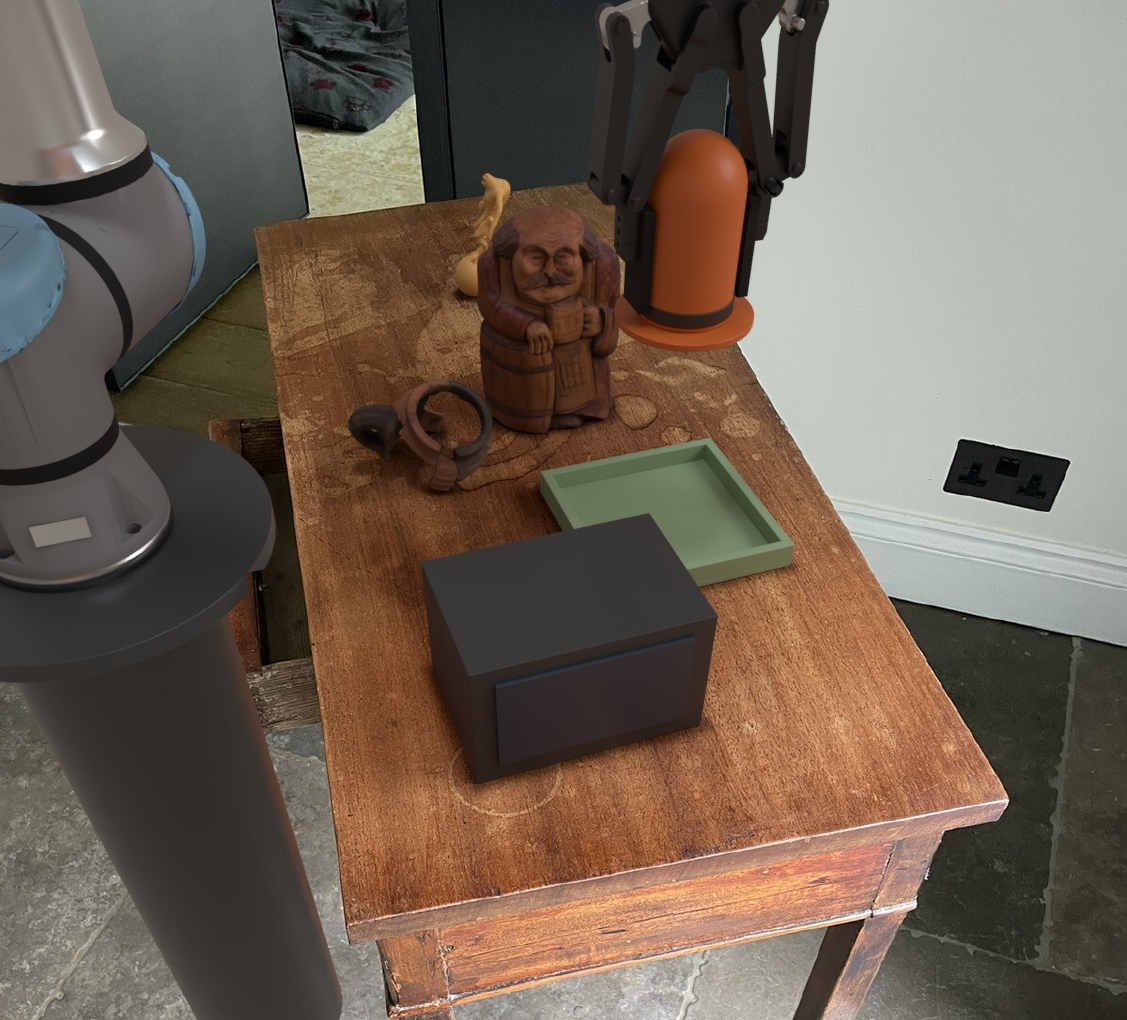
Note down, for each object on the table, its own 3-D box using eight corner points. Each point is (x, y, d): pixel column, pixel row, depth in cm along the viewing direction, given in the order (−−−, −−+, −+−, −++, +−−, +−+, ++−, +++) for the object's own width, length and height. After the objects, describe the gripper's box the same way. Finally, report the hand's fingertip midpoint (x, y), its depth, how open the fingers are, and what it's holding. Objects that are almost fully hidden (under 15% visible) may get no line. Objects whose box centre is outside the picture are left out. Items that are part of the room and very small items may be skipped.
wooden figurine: (495, 441, 95) (486, 235, 82) (480, 403, 99) (469, 201, 86) (621, 423, 97) (633, 220, 84) (601, 387, 101) (610, 187, 88)
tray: (540, 492, 90) (539, 471, 89) (707, 458, 94) (710, 437, 92) (606, 608, 81) (607, 587, 79) (790, 565, 84) (794, 544, 83)
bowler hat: (594, 296, 75) (599, 113, 67) (717, 276, 78) (738, 96, 69) (646, 362, 70) (660, 171, 61) (777, 338, 72) (809, 151, 63)
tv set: (432, 671, 76) (420, 561, 69) (639, 622, 80) (649, 512, 72) (478, 787, 69) (469, 679, 62) (702, 727, 73) (720, 618, 65)
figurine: (453, 277, 116) (445, 158, 106) (508, 274, 116) (505, 155, 107) (458, 314, 110) (451, 192, 101) (516, 311, 111) (514, 189, 102)
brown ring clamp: (466, 424, 98) (494, 370, 90) (479, 517, 95) (509, 470, 88) (335, 413, 93) (353, 355, 86) (345, 511, 91) (365, 460, 83)
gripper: (575, -110, 51) (569, 346, 68) (930, -136, 55) (839, 299, 72) (525, -142, 55) (531, 293, 73) (857, -163, 60) (787, 252, 77)
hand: (685, 295), depth 73 cm, fingers closed on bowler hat, 7 cm apart
